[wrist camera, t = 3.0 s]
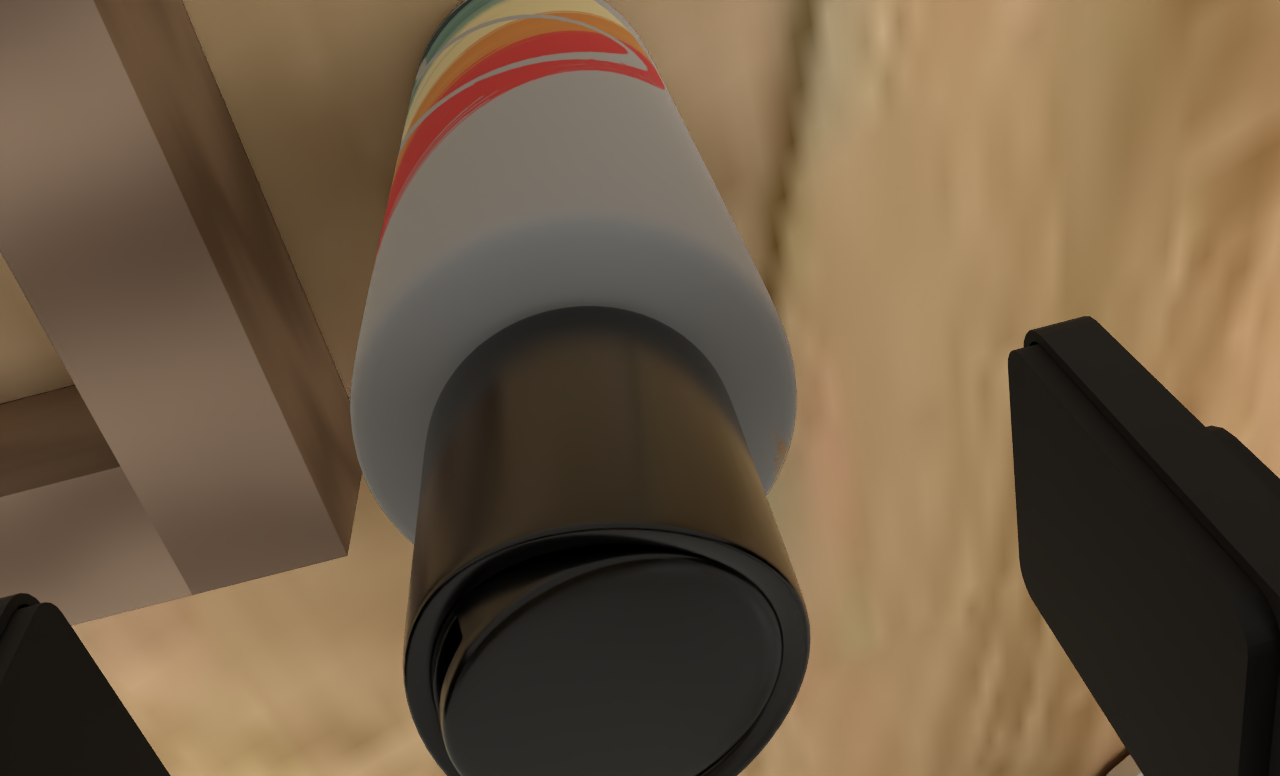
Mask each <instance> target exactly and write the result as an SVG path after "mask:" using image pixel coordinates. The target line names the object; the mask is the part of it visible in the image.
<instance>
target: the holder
mask: <svg viewBox="0 0 1280 776" xmlns="http://www.w3.org/2000/svg"><path fill="white" fill-rule="evenodd" d="M0 252H1V254H2V255H3V257H4V259H5V261H6V263H7V264H8V266H9V268H10V270H11V271H12V273H13V275H14V277H15V279H16V280H17V282H18V284H19V286H20V288H21V289H22V291H23V293H24V295H25V297H26V298H27V300H28V302H29V304H30V305H31V307H32V309H33V311H34V313H35V314H36V316H37V318H38V320H39V322H40V323H41V325H42V327H43V329H44V330H45V332H46V334H47V336H48V338H49V339H50V341H51V343H52V345H53V347H54V348H55V350H56V352H57V354H58V355H59V357H60V359H61V361H62V363H63V364H64V366H65V368H66V370H67V372H68V373H69V375H70V377H71V379H72V381H73V382H74V384H75V385H74V386H70V387H66V388H62V389H58V390H55V391H51V392H47V393H43V394H39V395H35V396H31V397H27V398H23V399H19V400H16V401H12V402H8V403H4V404H0V598H3V597H7V596H11V595H15V594H18V593H26V594H30V595H32V596H33V597H35V598H37V600H38V601H39V602H40V603H44V602H48V603H52V604H54V605H55V606H57V607H58V608H59V610H60V611H61V612H62V613H63V615H64V616H65V618H66V619H67V621H68V622H69V624H70V625H71V626H72V625H76V624H80V623H84V622H88V621H92V620H96V619H100V618H104V617H107V616H111V615H115V614H119V613H123V612H127V611H131V610H135V609H139V608H143V607H147V606H151V605H155V604H159V603H163V602H167V601H171V600H175V599H179V598H182V597H186V596H190V595H194V594H198V593H202V592H206V591H210V590H214V589H218V588H222V587H226V586H230V585H234V584H238V583H242V582H246V581H250V580H254V579H258V578H261V577H265V576H269V575H273V574H277V573H281V572H285V571H289V570H293V569H297V568H301V567H305V566H309V565H313V564H317V563H321V562H325V561H329V560H333V559H336V558H340V557H344V556H347V555H348V549H349V544H350V538H351V532H352V526H353V521H354V515H355V509H356V503H357V498H358V492H359V486H360V480H361V475H362V470H361V467H360V464H359V461H358V458H357V454H356V449H355V444H354V440H353V433H352V425H351V414H350V401H349V399H348V396H347V394H346V392H345V389H344V387H343V385H342V382H341V380H340V377H339V375H338V373H337V370H336V368H335V365H334V363H333V361H332V358H331V356H330V353H329V351H328V349H327V346H326V344H325V342H324V339H323V337H322V334H321V332H320V330H319V327H318V325H317V322H316V320H315V318H314V315H313V313H312V311H311V308H310V306H309V303H308V301H307V299H306V296H305V294H304V291H303V289H302V287H301V284H300V282H299V279H298V277H297V275H296V272H295V270H294V268H293V265H292V263H291V260H290V258H289V256H288V253H287V251H286V248H285V246H284V244H283V241H282V239H281V236H280V234H279V232H278V229H277V227H276V225H275V222H274V220H273V217H272V215H271V213H270V210H269V208H268V205H267V203H266V201H265V198H264V196H263V193H262V191H261V189H260V186H259V184H258V182H257V179H256V177H255V174H254V172H253V170H252V167H251V165H250V162H249V160H248V158H247V155H246V153H245V151H244V148H243V146H242V143H241V141H240V139H239V136H238V134H237V131H236V129H235V127H234V124H233V122H232V119H231V117H230V115H229V112H228V110H227V108H226V105H225V103H224V100H223V98H222V96H221V93H220V91H219V88H218V86H217V84H216V81H215V79H214V76H213V74H212V72H211V69H210V67H209V65H208V62H207V60H206V57H205V55H204V53H203V50H202V48H201V45H200V43H199V41H198V38H197V36H196V33H195V31H194V29H193V26H192V24H191V22H190V19H189V17H188V14H187V12H186V10H185V7H184V5H183V2H182V0H0Z"/></svg>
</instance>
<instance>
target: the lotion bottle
mask: <svg viewBox="0 0 1280 776" xmlns="http://www.w3.org/2000/svg"><path fill="white" fill-rule="evenodd" d="M796 394H797V391H796V381H795V371H794V363H793V359H792V354H791V349H790V345H789V342H788V339H787V336H786V333H785V331H784V328H783V325H782V323H781V320H780V318H779V315H778V313H777V311H776V308H775V306H774V304H773V302H772V300H771V297H770V295H769V293H768V291H767V289H766V287H765V285H764V283H763V281H762V278H761V276H760V274H759V272H758V270H757V268H756V266H755V264H754V262H753V260H752V258H751V256H750V254H749V252H748V250H747V248H746V246H745V244H744V242H743V240H742V238H741V236H740V234H739V232H738V230H737V228H736V226H735V224H734V222H733V220H732V218H731V216H730V214H729V212H728V210H727V208H726V206H725V204H724V202H723V200H722V198H721V196H720V194H719V192H718V190H717V188H716V186H715V184H714V182H713V180H712V178H711V176H710V174H709V172H708V170H707V168H706V166H705V164H704V162H703V160H702V158H701V156H700V154H699V152H698V150H697V148H696V146H695V144H694V142H693V140H692V138H691V136H690V134H689V132H688V130H687V128H686V126H685V124H684V122H683V120H682V118H681V116H680V114H679V112H678V110H677V108H676V106H675V104H674V102H673V100H672V98H671V96H670V94H669V92H668V90H667V88H666V86H665V84H664V82H663V80H662V78H661V76H660V74H659V72H658V70H657V68H656V66H655V64H654V62H653V60H652V58H651V56H650V55H649V53H648V51H647V49H646V48H645V46H644V44H643V43H642V41H641V39H640V38H639V36H638V35H637V33H636V32H635V31H634V29H633V28H632V27H631V25H630V24H629V23H628V22H627V21H626V20H625V19H624V18H623V17H622V16H621V15H620V14H619V13H618V12H617V11H616V10H615V9H614V8H613V7H612V6H610V5H609V4H608V3H606V2H605V1H604V0H466V1H464V2H463V3H462V4H460V5H459V6H458V7H457V8H456V9H454V10H453V11H452V12H451V13H450V14H449V15H448V17H447V18H446V19H445V20H444V21H443V22H442V24H441V25H440V26H439V27H438V29H437V30H436V32H435V34H434V35H433V37H432V38H431V40H430V42H429V44H428V46H427V48H426V50H425V52H424V54H423V57H422V60H421V63H420V65H419V68H418V71H417V75H416V79H415V83H414V87H413V91H412V95H411V100H410V104H409V109H408V113H407V118H406V122H405V127H404V131H403V136H402V141H401V145H400V150H399V154H398V159H397V163H396V168H395V173H394V177H393V182H392V186H391V191H390V195H389V200H388V205H387V209H386V214H385V218H384V223H383V227H382V232H381V236H380V241H379V246H378V250H377V255H376V259H375V264H374V268H373V273H372V278H371V282H370V287H369V291H368V296H367V301H366V305H365V310H364V315H363V320H362V325H361V330H360V334H359V339H358V345H357V350H356V356H355V362H354V370H353V377H352V385H351V398H350V414H351V425H352V433H353V440H354V444H355V449H356V454H357V458H358V461H359V464H360V467H361V470H362V473H363V476H364V478H365V480H366V482H367V484H368V486H369V488H370V490H371V493H372V494H373V496H374V497H375V499H376V501H377V502H378V504H379V506H380V507H381V509H382V510H383V511H384V513H385V514H386V515H387V517H388V518H389V519H390V521H391V522H392V523H393V524H394V525H395V526H396V527H397V528H398V530H399V531H400V532H401V533H402V534H403V535H404V536H405V537H406V538H407V539H408V540H410V541H411V542H412V543H413V544H414V551H413V560H412V570H411V579H410V588H409V597H408V607H407V616H406V625H405V636H404V651H403V676H404V686H405V692H406V698H407V702H408V705H409V709H410V712H411V715H412V718H413V721H414V723H415V726H416V728H417V730H418V733H419V735H420V737H421V739H422V740H423V742H424V744H425V746H426V748H427V750H428V751H429V752H430V754H431V755H432V757H433V758H434V760H435V761H436V763H437V764H438V765H439V767H440V768H441V769H442V770H443V771H444V773H445V774H446V775H447V776H737V775H738V774H739V773H740V772H742V771H743V770H744V769H745V768H746V767H747V766H748V765H749V764H750V763H751V762H752V761H753V759H754V758H755V757H756V756H757V755H758V754H759V753H760V752H761V751H762V749H763V748H764V747H765V746H766V745H767V743H768V742H769V741H770V740H771V738H772V737H773V735H774V734H775V733H776V731H777V730H778V728H779V727H780V725H781V724H782V722H783V721H784V719H785V717H786V716H787V714H788V712H789V711H790V709H791V707H792V705H793V703H794V701H795V699H796V697H797V694H798V692H799V689H800V687H801V684H802V682H803V678H804V675H805V672H806V668H807V663H808V658H809V650H810V624H809V619H808V614H807V609H806V605H805V602H804V599H803V596H802V593H801V590H800V587H799V584H798V582H797V579H796V576H795V573H794V571H793V568H792V565H791V562H790V560H789V557H788V554H787V551H786V549H785V546H784V543H783V541H782V538H781V535H780V532H779V530H778V527H777V524H776V521H775V519H774V516H773V513H772V511H771V508H770V505H769V502H768V500H767V497H766V496H767V494H768V492H769V491H770V489H771V487H772V486H773V484H774V482H775V481H776V479H777V476H778V474H779V472H780V470H781V468H782V466H783V464H784V461H785V458H786V455H787V452H788V450H789V447H790V443H791V439H792V434H793V430H794V424H795V416H796Z"/></svg>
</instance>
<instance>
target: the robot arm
mask: <svg viewBox="0 0 1280 776" xmlns="http://www.w3.org/2000/svg"><path fill="white" fill-rule="evenodd" d="M1008 375H1009V391H1010V408H1011V425H1012V442H1013V458H1014V475H1015V492H1016V509H1017V525H1018V542H1019V559H1020V567H1021V572H1022V576H1023V579H1024V582H1025V585H1026V588H1027V590H1028V592H1029V595H1030V597H1031V598H1032V600H1033V602H1034V603H1035V605H1036V607H1037V608H1038V610H1039V611H1040V613H1041V615H1042V616H1043V618H1044V619H1045V621H1046V622H1047V624H1048V626H1049V627H1050V629H1051V630H1052V632H1053V633H1054V635H1055V637H1056V638H1057V640H1058V641H1059V643H1060V645H1061V646H1062V648H1063V649H1064V651H1065V652H1066V654H1067V656H1068V657H1069V659H1070V660H1071V662H1072V664H1073V665H1074V667H1075V668H1076V670H1077V671H1078V673H1079V675H1080V676H1081V678H1082V679H1083V681H1084V682H1085V684H1086V686H1087V687H1088V689H1089V690H1090V692H1091V694H1092V695H1093V697H1094V698H1095V700H1096V701H1097V703H1098V705H1099V706H1100V708H1101V709H1102V711H1103V712H1104V714H1105V716H1106V717H1107V719H1108V720H1109V722H1110V724H1111V725H1112V727H1113V728H1114V730H1115V731H1116V733H1117V735H1118V736H1119V738H1120V739H1121V741H1122V742H1123V744H1124V746H1125V747H1126V749H1127V750H1128V752H1129V755H1128V756H1127V757H1126V758H1125V759H1124V760H1122V761H1121V762H1120V763H1119V764H1118V765H1117V766H1115V767H1114V768H1113V769H1112V770H1111V771H1109V773H1108V774H1107V775H1106V776H1280V479H1279V478H1278V477H1277V476H1276V475H1275V474H1274V473H1273V472H1272V471H1271V470H1270V469H1269V468H1268V467H1267V466H1266V465H1264V464H1263V463H1262V462H1261V461H1260V460H1259V459H1258V458H1257V457H1256V456H1255V455H1254V454H1253V453H1252V452H1251V451H1250V450H1249V449H1248V448H1247V447H1245V446H1244V445H1243V444H1242V443H1241V442H1240V441H1239V440H1238V439H1237V438H1236V437H1235V436H1233V435H1232V434H1231V433H1229V432H1228V431H1226V430H1225V429H1224V428H1220V427H1215V426H1208V427H1205V426H1204V425H1203V424H1202V423H1201V422H1200V421H1199V420H1198V419H1197V418H1196V417H1195V416H1194V415H1193V414H1192V413H1191V412H1189V411H1188V410H1187V409H1186V408H1185V407H1184V406H1183V405H1182V404H1181V403H1180V402H1179V401H1178V400H1177V399H1176V398H1175V397H1174V396H1173V395H1172V394H1171V393H1170V392H1169V391H1168V390H1167V389H1166V388H1165V387H1164V386H1163V385H1162V384H1161V383H1160V382H1159V381H1158V380H1157V379H1156V378H1155V377H1154V376H1153V375H1151V374H1150V373H1149V372H1148V371H1147V370H1146V369H1145V368H1144V367H1143V366H1142V365H1141V364H1140V363H1139V362H1138V361H1137V360H1136V359H1135V358H1134V357H1133V356H1132V355H1131V354H1130V353H1129V352H1128V351H1127V350H1126V349H1125V348H1124V347H1123V346H1122V345H1121V344H1120V343H1119V342H1118V341H1117V340H1116V339H1114V338H1113V337H1112V336H1111V335H1110V334H1109V333H1108V332H1107V331H1106V330H1105V329H1104V328H1103V327H1102V326H1101V325H1100V324H1099V323H1098V322H1097V321H1096V320H1094V319H1093V318H1091V317H1090V316H1083V317H1080V318H1076V319H1072V320H1068V321H1064V322H1060V323H1057V324H1053V325H1049V326H1045V327H1041V328H1037V329H1033V330H1030V331H1029V332H1028V333H1027V334H1026V336H1025V340H1024V348H1021V349H1017V350H1013V351H1011V352H1010V354H1009V358H1008ZM0 776H170V774H169V773H168V771H167V770H166V768H165V767H164V765H163V764H162V762H161V761H160V759H159V758H158V756H157V755H156V753H155V752H154V750H153V749H152V747H151V746H150V744H149V743H148V741H147V740H146V738H145V737H144V735H143V734H142V732H141V731H140V729H139V728H138V726H137V725H136V723H135V722H134V720H133V719H132V717H131V716H130V714H129V713H128V711H127V710H126V708H125V707H124V705H123V704H122V702H121V701H120V699H119V698H118V696H117V695H116V693H115V692H114V690H113V689H112V687H111V686H110V684H109V682H108V681H107V679H106V678H105V676H104V675H103V673H102V672H101V670H100V669H99V667H98V666H97V664H96V663H95V661H94V660H93V658H92V657H91V655H90V654H89V652H88V651H87V649H86V648H85V646H84V645H83V643H82V642H81V640H80V639H79V637H78V636H77V634H76V633H75V631H74V630H73V628H72V627H71V625H70V624H69V622H68V621H67V619H66V618H65V616H64V615H63V613H62V612H61V611H60V610H59V608H58V607H57V606H55V605H54V604H52V603H48V602H44V603H40V602H39V601H38V600H37V598H35V597H33V596H32V595H30V594H26V593H18V594H15V595H11V596H7V597H3V598H0Z"/></svg>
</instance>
